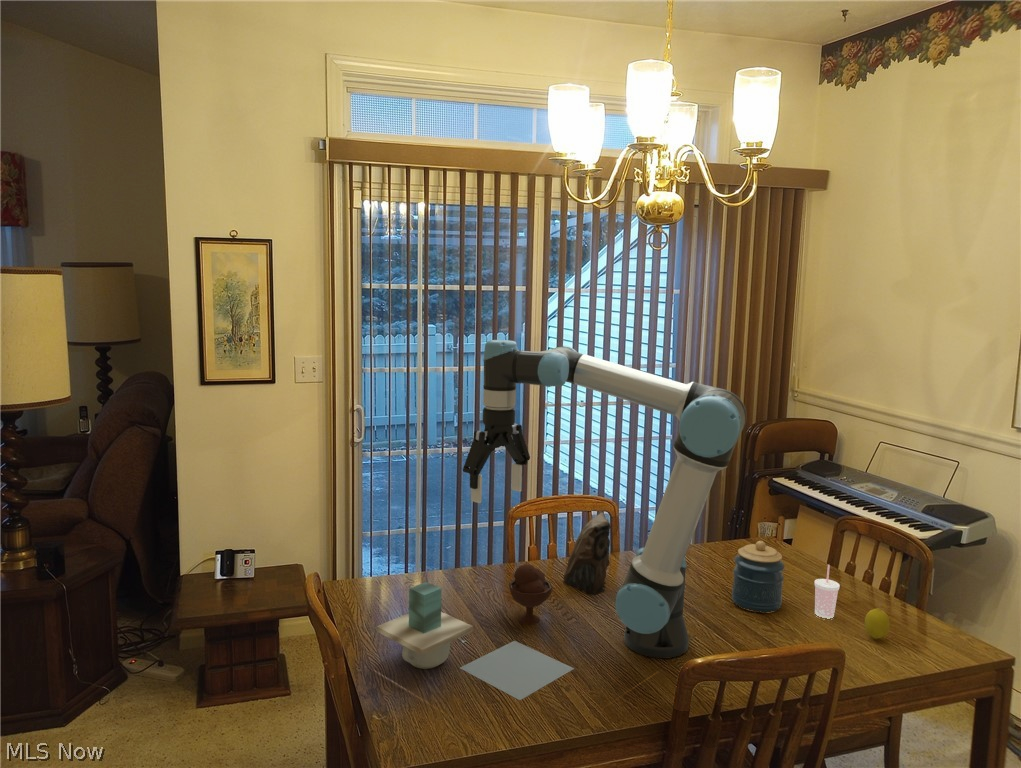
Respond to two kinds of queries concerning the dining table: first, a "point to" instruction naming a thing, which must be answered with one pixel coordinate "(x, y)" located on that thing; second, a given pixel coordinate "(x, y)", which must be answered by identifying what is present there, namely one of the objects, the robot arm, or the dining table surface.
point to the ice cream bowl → (529, 590)
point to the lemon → (877, 623)
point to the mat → (517, 669)
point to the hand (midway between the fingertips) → (496, 496)
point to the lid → (424, 622)
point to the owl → (590, 557)
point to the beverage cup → (825, 596)
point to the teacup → (426, 657)
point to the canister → (758, 578)
